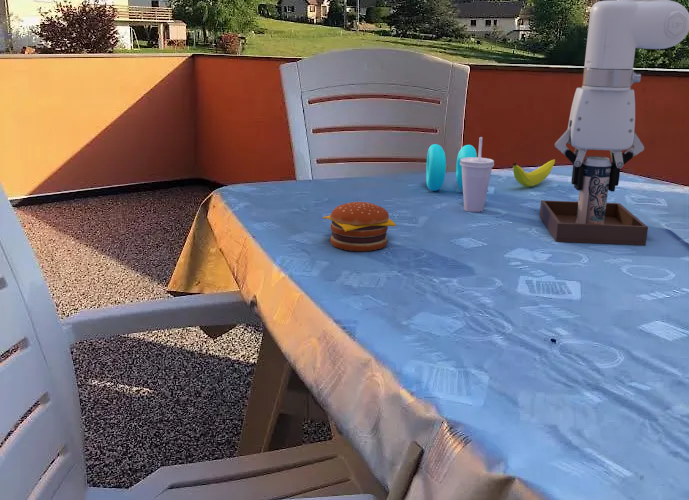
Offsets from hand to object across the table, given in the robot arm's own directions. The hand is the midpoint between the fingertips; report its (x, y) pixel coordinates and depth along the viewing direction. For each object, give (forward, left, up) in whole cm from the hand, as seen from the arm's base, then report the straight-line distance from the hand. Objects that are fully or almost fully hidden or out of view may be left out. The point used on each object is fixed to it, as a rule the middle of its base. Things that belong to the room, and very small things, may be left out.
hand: (593, 188), depth 121 cm
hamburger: (+39, +15, -8) cm, 43 cm away
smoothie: (+19, -12, -8) cm, 24 cm away
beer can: (0, 0, -7) cm, 7 cm away
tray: (0, 0, -7) cm, 7 cm away
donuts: (+23, -29, -8) cm, 38 cm away
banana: (+4, -38, -8) cm, 39 cm away
